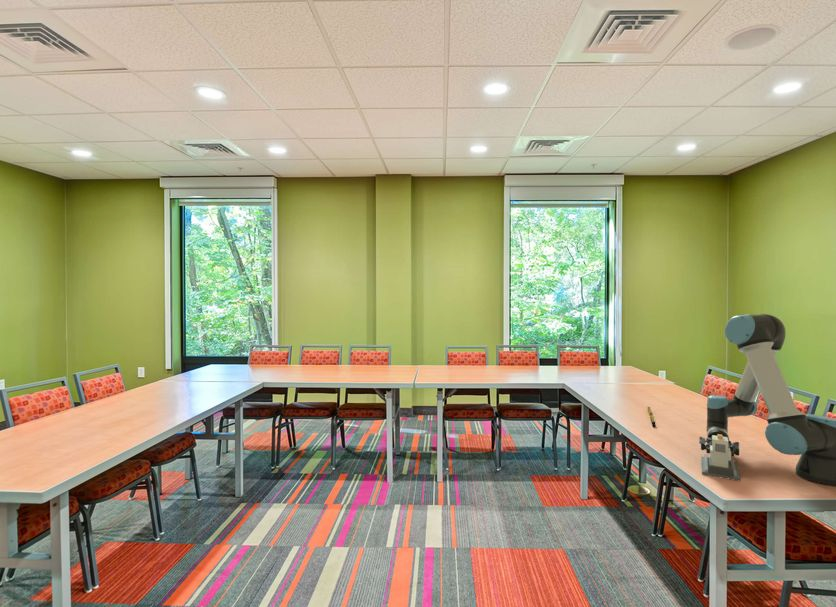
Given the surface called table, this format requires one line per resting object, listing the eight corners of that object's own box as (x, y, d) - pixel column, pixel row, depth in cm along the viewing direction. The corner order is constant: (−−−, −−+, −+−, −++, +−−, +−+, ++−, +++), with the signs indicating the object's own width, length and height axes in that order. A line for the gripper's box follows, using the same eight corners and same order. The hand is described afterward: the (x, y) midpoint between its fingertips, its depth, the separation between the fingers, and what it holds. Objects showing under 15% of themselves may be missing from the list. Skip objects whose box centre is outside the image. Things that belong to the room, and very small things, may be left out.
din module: (727, 467, 170) (727, 434, 169) (728, 472, 165) (728, 438, 165) (711, 464, 172) (712, 432, 172) (712, 469, 168) (712, 436, 167)
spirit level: (647, 411, 260) (647, 406, 260) (650, 411, 259) (650, 406, 259) (652, 427, 229) (652, 421, 229) (655, 427, 229) (655, 421, 229)
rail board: (736, 464, 178) (736, 455, 178) (740, 481, 162) (740, 471, 162) (701, 458, 184) (701, 450, 184) (701, 474, 168) (701, 465, 168)
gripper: (744, 450, 179) (750, 470, 159) (692, 443, 188) (692, 460, 169) (744, 432, 179) (750, 450, 159) (692, 425, 188) (692, 441, 169)
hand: (720, 455), depth 164 cm, fingers closed on din module, 5 cm apart
